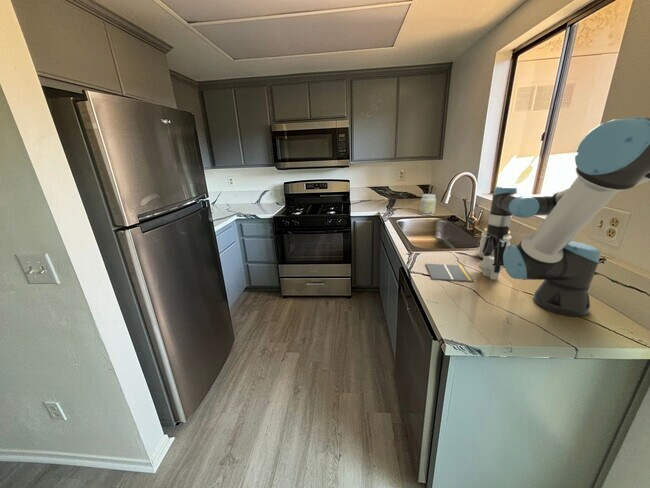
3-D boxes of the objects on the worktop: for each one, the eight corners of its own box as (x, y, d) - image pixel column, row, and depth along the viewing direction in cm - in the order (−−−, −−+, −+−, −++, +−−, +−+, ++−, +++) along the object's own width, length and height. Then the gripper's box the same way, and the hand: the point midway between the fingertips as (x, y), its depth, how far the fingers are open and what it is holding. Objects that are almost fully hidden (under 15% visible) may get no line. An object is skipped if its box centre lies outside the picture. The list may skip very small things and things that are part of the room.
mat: (474, 282, 113) (474, 280, 113) (431, 279, 116) (431, 278, 116) (463, 266, 128) (463, 265, 127) (425, 264, 131) (425, 263, 131)
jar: (512, 261, 132) (520, 227, 126) (486, 262, 132) (492, 227, 126) (497, 252, 144) (503, 220, 138) (472, 252, 145) (478, 220, 139)
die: (493, 271, 121) (481, 254, 122) (511, 269, 113) (498, 250, 114) (483, 281, 118) (471, 263, 118) (501, 279, 110) (488, 260, 110)
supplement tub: (424, 212, 237) (426, 193, 232) (437, 214, 229) (439, 194, 223) (416, 214, 230) (418, 194, 224) (429, 216, 221) (432, 196, 216)
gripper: (522, 231, 99) (510, 285, 106) (497, 218, 119) (489, 264, 127) (499, 231, 100) (489, 284, 108) (479, 218, 121) (472, 263, 128)
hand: (489, 273), depth 117 cm, fingers closed on die, 9 cm apart
